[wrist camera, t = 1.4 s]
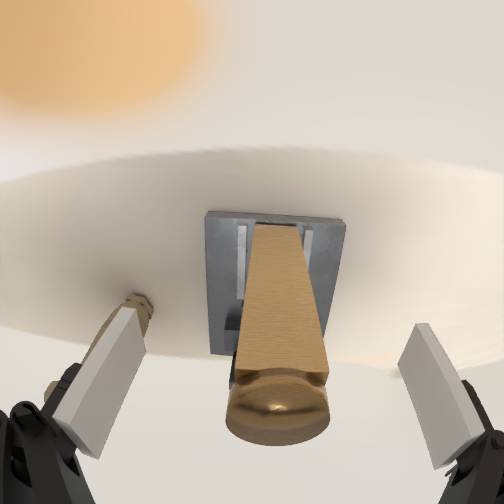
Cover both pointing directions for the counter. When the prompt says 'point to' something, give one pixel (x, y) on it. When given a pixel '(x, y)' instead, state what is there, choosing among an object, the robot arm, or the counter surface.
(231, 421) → the lever
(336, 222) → the slotted metal plate
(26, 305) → the counter surface
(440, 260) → the counter surface
